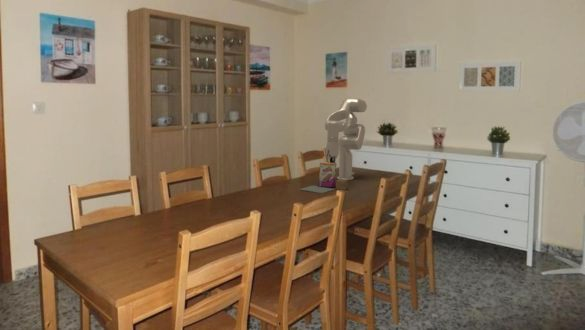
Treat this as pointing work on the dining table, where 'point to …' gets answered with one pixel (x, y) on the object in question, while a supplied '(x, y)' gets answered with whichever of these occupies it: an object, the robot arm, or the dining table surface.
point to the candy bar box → (327, 174)
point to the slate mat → (317, 189)
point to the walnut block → (341, 184)
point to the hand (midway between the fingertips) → (332, 166)
